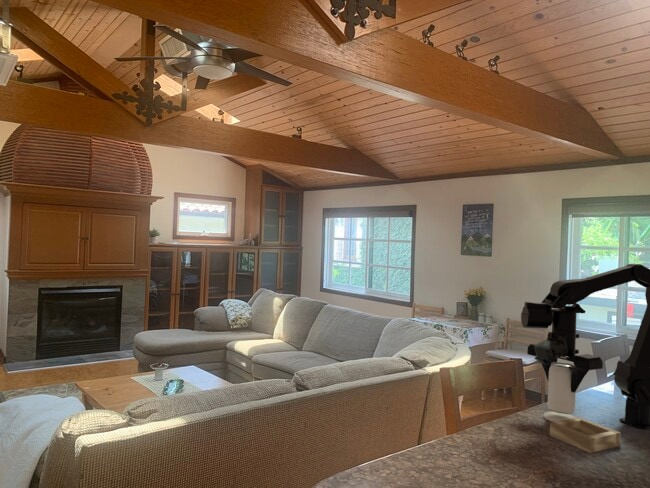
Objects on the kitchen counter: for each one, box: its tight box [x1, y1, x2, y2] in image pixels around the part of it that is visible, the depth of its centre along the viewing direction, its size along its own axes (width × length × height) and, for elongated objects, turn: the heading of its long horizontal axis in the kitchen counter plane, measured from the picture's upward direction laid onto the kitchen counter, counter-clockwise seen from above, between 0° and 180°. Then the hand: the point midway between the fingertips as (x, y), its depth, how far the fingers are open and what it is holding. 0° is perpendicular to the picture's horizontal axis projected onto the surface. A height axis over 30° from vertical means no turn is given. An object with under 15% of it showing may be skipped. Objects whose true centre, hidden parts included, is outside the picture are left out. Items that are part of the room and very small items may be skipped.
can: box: [547, 361, 577, 415], centre depth 130 cm, size 6×6×12 cm
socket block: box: [549, 417, 622, 454], centre depth 116 cm, size 10×10×3 cm
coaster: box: [543, 411, 577, 423], centre depth 130 cm, size 8×8×1 cm
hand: (561, 388), depth 130 cm, fingers closed on can, 6 cm apart
